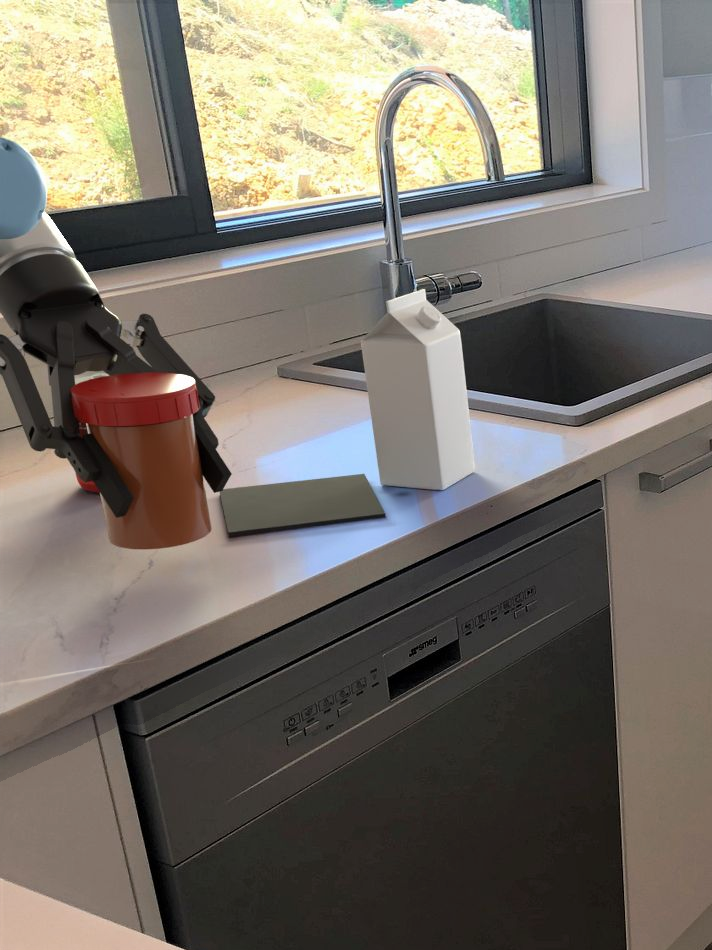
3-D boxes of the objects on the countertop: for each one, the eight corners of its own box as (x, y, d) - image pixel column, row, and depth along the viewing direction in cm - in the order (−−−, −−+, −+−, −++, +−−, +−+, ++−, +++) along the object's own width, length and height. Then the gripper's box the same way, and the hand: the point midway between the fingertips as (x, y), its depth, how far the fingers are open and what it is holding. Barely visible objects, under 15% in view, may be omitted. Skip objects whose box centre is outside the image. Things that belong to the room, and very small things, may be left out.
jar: (108, 554, 115) (79, 405, 110) (109, 525, 121) (81, 383, 116) (214, 542, 118) (189, 397, 113) (209, 515, 125) (186, 376, 120)
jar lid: (74, 430, 110) (68, 402, 109) (77, 403, 117) (72, 376, 117) (202, 420, 113) (197, 392, 113) (197, 395, 121) (192, 368, 120)
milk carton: (380, 486, 143) (354, 299, 135) (415, 467, 149) (392, 287, 141) (442, 492, 141) (420, 303, 134) (476, 472, 148) (456, 290, 140)
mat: (228, 537, 128) (227, 532, 128) (219, 494, 140) (219, 489, 139) (386, 518, 134) (385, 513, 134) (365, 478, 145) (364, 473, 145)
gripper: (139, 291, 129) (270, 490, 127) (-107, 322, 113) (39, 551, 111) (162, 237, 124) (299, 444, 122) (-91, 262, 108) (61, 500, 106)
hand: (175, 495), depth 116 cm, fingers closed on jar, 8 cm apart
